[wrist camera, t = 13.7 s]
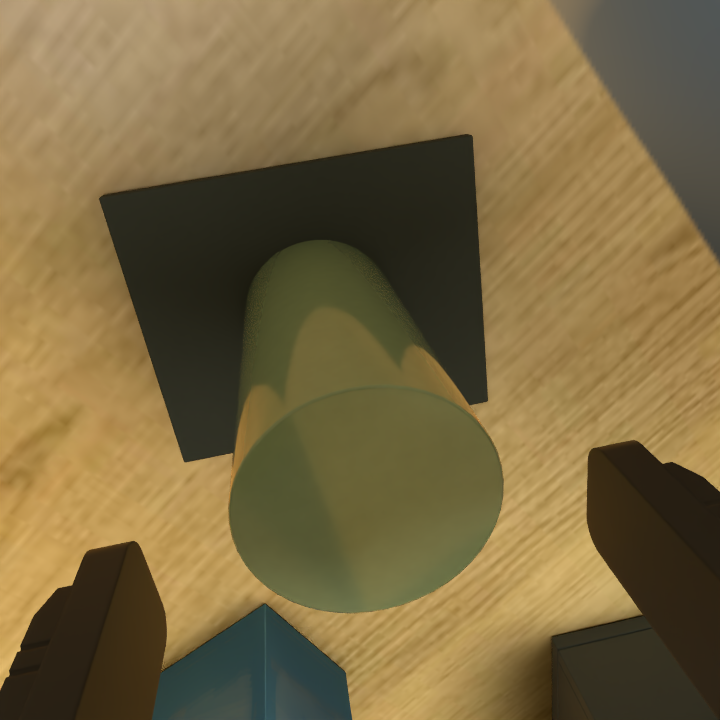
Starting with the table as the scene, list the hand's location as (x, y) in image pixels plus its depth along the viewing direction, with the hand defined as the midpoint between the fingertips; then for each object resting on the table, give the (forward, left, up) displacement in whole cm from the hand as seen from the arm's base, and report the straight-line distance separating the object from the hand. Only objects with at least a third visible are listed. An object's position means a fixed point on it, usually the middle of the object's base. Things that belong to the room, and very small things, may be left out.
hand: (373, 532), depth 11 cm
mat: (0, 0, -12) cm, 12 cm away
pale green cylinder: (0, 0, -12) cm, 12 cm away
